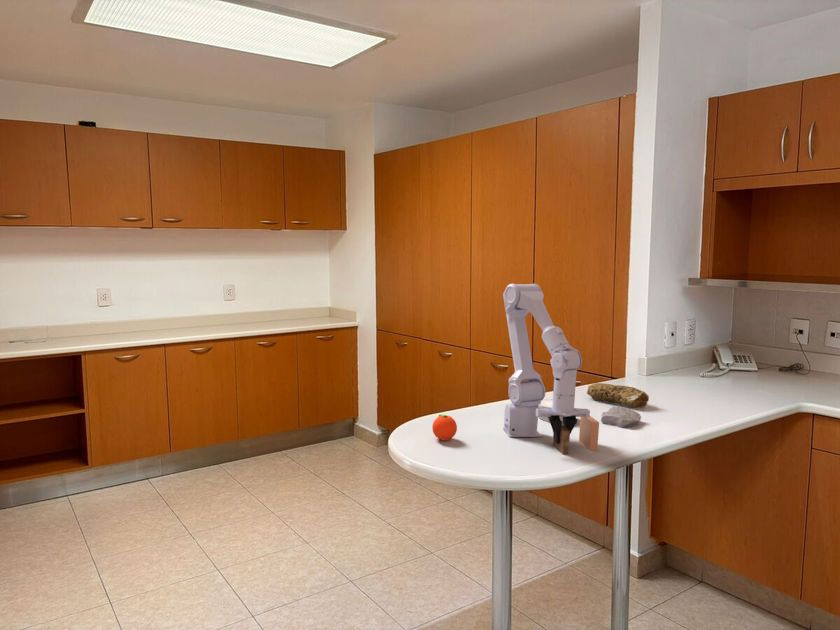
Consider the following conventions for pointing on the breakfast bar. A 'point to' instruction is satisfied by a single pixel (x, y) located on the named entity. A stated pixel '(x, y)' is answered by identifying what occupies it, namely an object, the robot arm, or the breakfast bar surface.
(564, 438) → the brown wooden block
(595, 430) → the terracotta tile
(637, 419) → the stone block
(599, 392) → the mossy brown rock
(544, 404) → the ramekin
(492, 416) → the breakfast bar surface
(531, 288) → the robot arm
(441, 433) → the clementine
